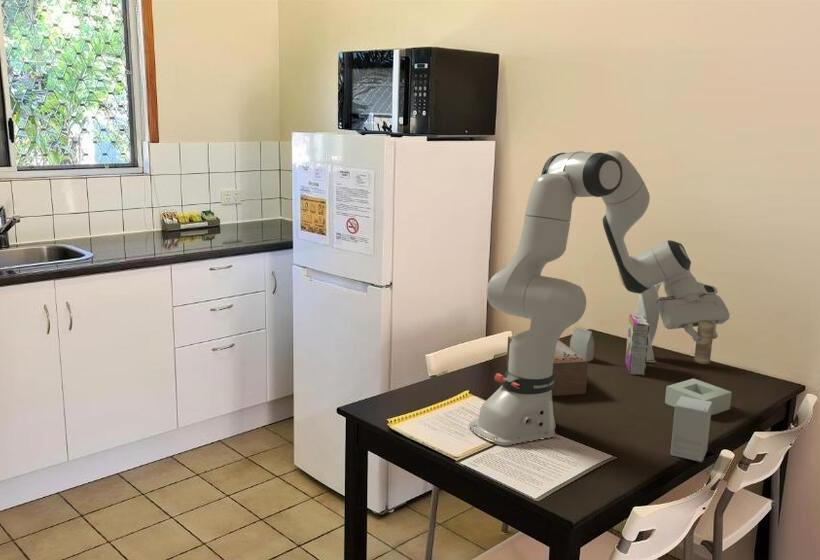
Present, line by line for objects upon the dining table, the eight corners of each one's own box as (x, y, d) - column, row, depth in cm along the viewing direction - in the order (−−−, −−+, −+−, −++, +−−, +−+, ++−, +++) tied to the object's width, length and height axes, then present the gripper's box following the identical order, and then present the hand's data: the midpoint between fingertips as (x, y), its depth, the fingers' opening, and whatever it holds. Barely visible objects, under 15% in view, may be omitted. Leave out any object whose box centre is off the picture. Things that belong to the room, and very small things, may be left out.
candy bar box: (623, 363, 237) (628, 313, 233) (640, 364, 236) (644, 314, 232) (628, 374, 226) (633, 323, 222) (645, 376, 225) (650, 324, 221)
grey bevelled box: (585, 362, 236) (587, 332, 234) (569, 356, 241) (571, 327, 239) (592, 360, 238) (595, 330, 236) (576, 354, 244) (578, 325, 241)
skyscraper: (624, 355, 245) (632, 273, 239) (647, 354, 246) (655, 272, 240) (636, 363, 237) (644, 279, 231) (659, 362, 238) (668, 278, 232)
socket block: (702, 418, 194) (704, 400, 193) (664, 403, 204) (666, 386, 203) (729, 409, 201) (731, 391, 200) (691, 394, 210) (693, 378, 209)
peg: (703, 364, 197) (708, 325, 194) (691, 360, 200) (695, 321, 198) (712, 362, 199) (717, 323, 197) (700, 358, 202) (704, 319, 200)
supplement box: (707, 451, 175) (713, 401, 172) (702, 463, 169) (708, 411, 166) (675, 443, 179) (681, 394, 176) (669, 455, 173) (674, 404, 170)
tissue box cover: (585, 394, 210) (588, 361, 208) (538, 397, 207) (540, 363, 204) (549, 364, 234) (551, 334, 232) (506, 367, 231) (508, 336, 229)
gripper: (660, 291, 198) (681, 337, 191) (720, 286, 205) (742, 330, 199) (648, 303, 203) (668, 348, 197) (707, 298, 210) (728, 341, 204)
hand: (706, 339), depth 198 cm, fingers closed on peg, 4 cm apart
